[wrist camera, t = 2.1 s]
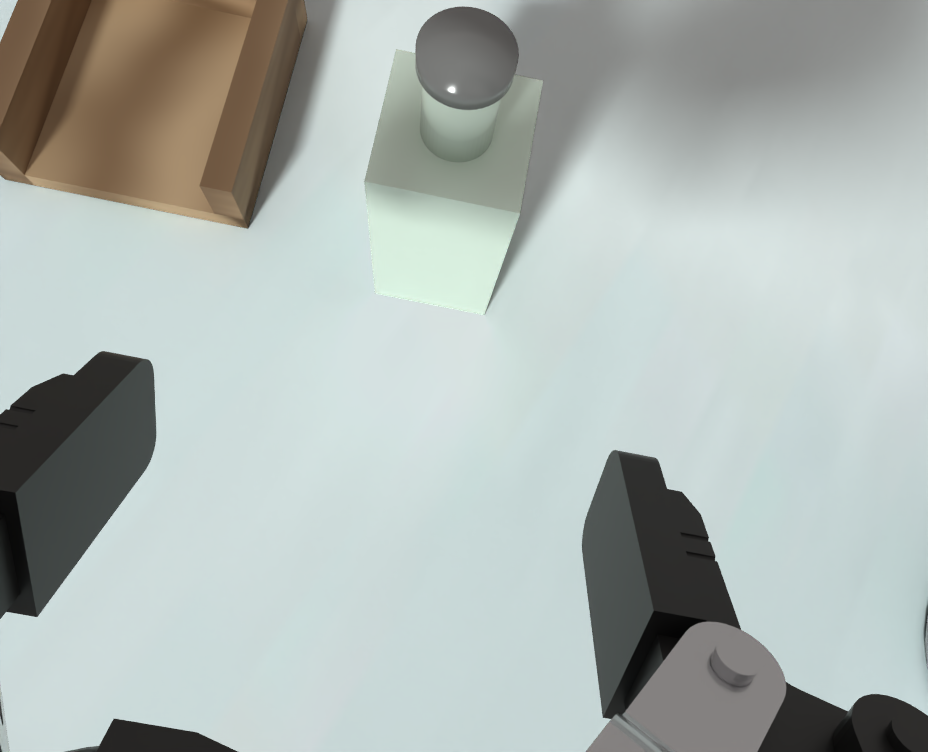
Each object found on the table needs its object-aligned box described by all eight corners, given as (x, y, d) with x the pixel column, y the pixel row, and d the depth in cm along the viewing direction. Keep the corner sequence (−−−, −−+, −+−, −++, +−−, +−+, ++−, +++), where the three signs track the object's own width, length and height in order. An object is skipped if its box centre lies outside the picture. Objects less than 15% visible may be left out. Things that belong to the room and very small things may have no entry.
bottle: (501, 216, 30) (568, -5, 18) (484, 315, 29) (543, 148, 17) (397, 195, 30) (395, -43, 18) (375, 293, 29) (357, 109, 17)
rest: (307, 19, 32) (298, -35, 29) (247, 228, 29) (231, 192, 26) (86, -29, 31) (54, -88, 28) (5, 179, 29) (-40, 137, 26)
